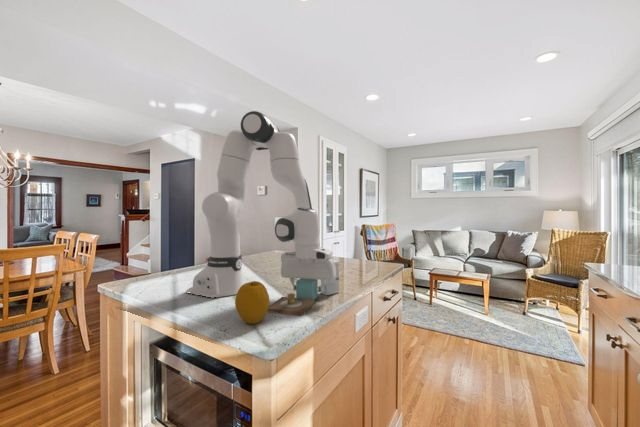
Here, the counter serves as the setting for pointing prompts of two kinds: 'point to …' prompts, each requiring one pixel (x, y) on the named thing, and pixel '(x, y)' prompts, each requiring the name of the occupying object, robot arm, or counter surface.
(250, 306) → the apple
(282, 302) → the tan plate with disc
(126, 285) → the counter surface
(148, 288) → the counter surface
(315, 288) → the teal cube box
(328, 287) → the skincare box
